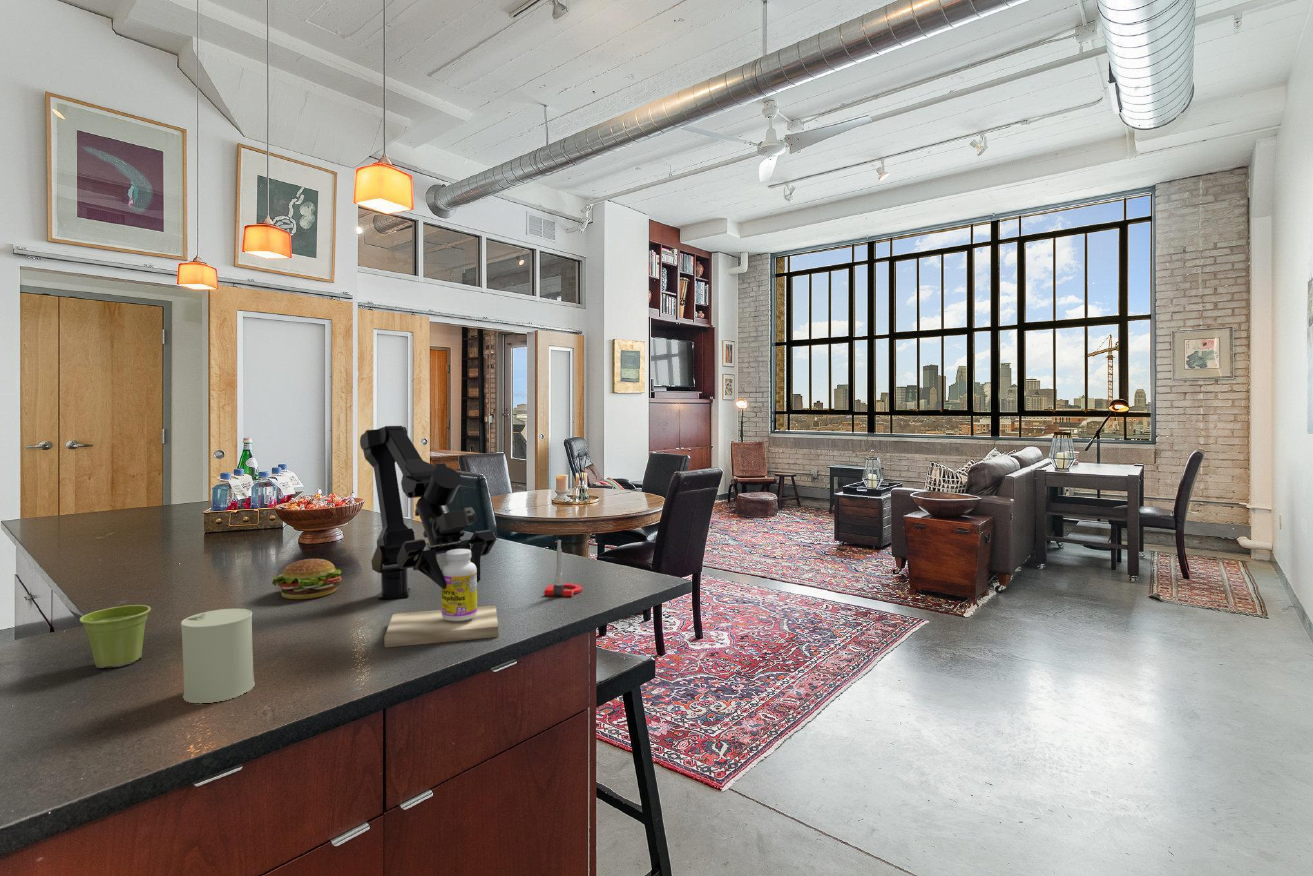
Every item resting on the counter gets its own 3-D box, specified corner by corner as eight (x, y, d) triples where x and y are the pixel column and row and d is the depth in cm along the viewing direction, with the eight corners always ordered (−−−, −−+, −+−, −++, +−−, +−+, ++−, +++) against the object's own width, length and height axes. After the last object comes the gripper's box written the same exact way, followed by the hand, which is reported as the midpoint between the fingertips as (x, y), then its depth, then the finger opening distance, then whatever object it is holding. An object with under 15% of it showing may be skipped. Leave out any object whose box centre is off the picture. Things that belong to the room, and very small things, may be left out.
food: (310, 583, 166) (309, 551, 166) (353, 588, 161) (352, 556, 161) (259, 598, 153) (258, 564, 153) (305, 604, 148) (303, 568, 148)
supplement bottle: (434, 620, 127) (433, 554, 127) (453, 610, 134) (451, 546, 133) (466, 623, 126) (465, 556, 125) (483, 612, 132) (482, 548, 132)
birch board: (393, 623, 134) (393, 613, 134) (495, 614, 139) (495, 605, 139) (384, 647, 121) (384, 636, 120) (498, 636, 126) (498, 626, 126)
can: (205, 680, 106) (203, 606, 106) (266, 678, 107) (264, 604, 107) (168, 706, 97) (165, 624, 97) (235, 703, 98) (232, 622, 97)
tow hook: (552, 587, 162) (539, 596, 153) (552, 534, 162) (540, 540, 153) (585, 589, 161) (575, 598, 152) (586, 535, 161) (576, 541, 152)
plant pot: (95, 678, 107) (92, 625, 107) (72, 666, 112) (70, 615, 112) (162, 659, 115) (160, 610, 115) (138, 649, 120) (136, 602, 120)
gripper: (401, 499, 125) (426, 568, 118) (491, 490, 138) (519, 552, 130) (386, 534, 132) (409, 602, 124) (474, 523, 144) (500, 584, 136)
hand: (462, 584), depth 128 cm, fingers closed on supplement bottle, 7 cm apart
